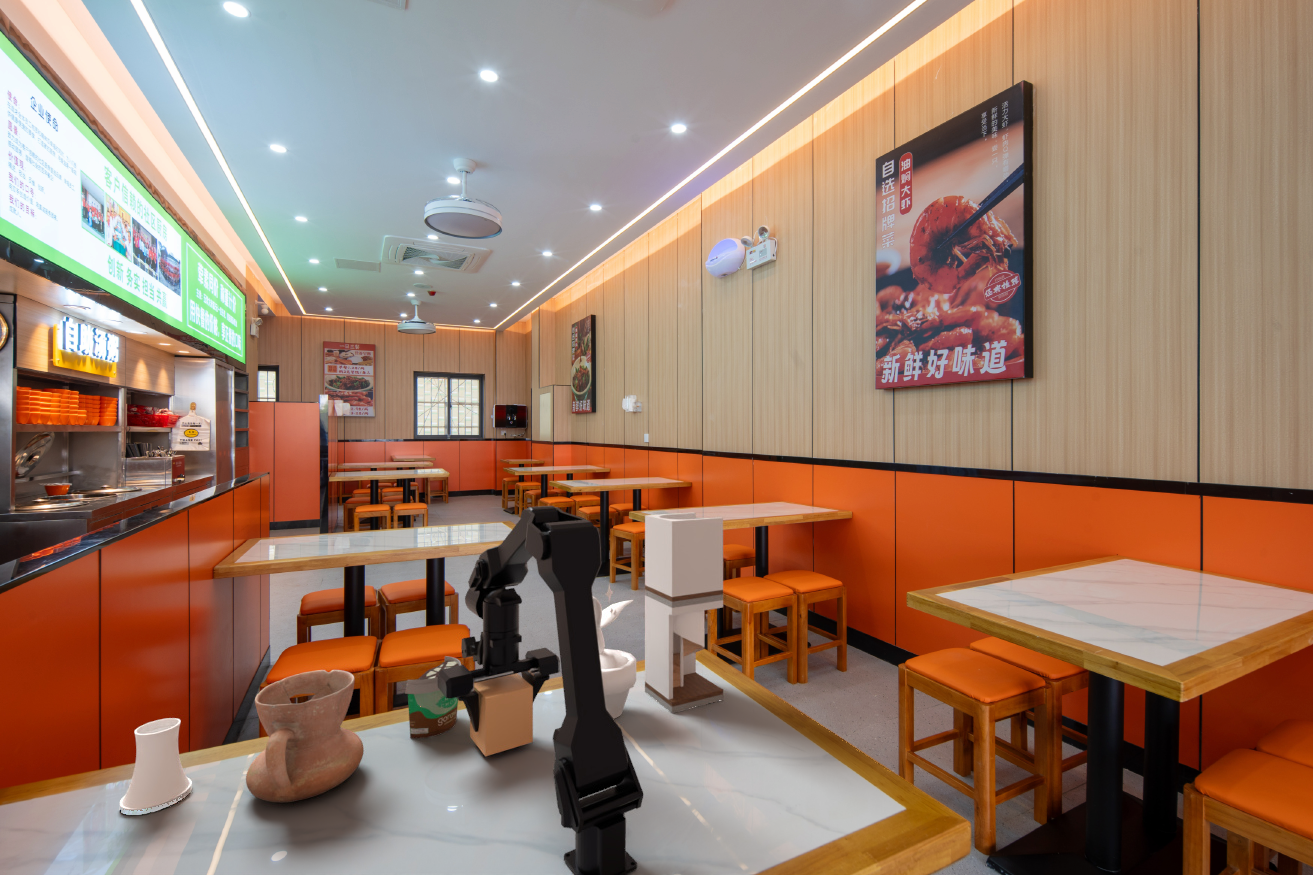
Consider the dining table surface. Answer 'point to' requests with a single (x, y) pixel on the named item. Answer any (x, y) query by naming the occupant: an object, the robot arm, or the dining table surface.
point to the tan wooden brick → (503, 714)
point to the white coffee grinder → (680, 605)
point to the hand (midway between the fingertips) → (500, 723)
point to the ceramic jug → (304, 737)
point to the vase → (156, 767)
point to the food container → (431, 703)
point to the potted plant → (614, 660)
